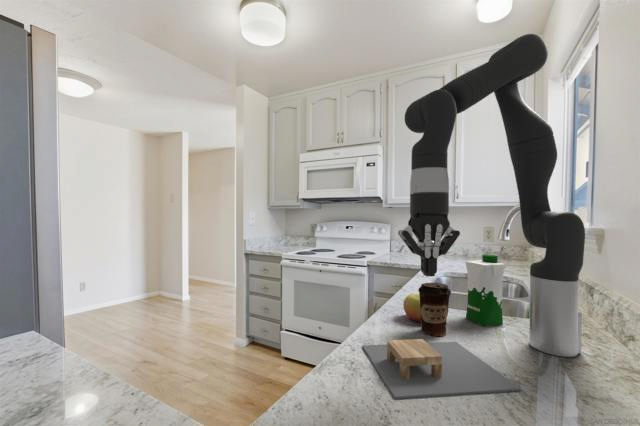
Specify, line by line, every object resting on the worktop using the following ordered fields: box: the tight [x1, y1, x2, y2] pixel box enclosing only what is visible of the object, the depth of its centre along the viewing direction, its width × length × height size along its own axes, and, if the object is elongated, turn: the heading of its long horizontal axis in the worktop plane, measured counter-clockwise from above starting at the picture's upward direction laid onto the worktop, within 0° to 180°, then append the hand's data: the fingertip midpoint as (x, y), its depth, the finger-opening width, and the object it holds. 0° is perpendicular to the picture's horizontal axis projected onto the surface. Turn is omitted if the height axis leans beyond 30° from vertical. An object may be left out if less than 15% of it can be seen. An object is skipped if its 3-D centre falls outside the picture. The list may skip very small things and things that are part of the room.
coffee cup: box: [418, 282, 452, 337], centre depth 80 cm, size 9×8×13 cm
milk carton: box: [464, 254, 506, 327], centre depth 90 cm, size 9×9×20 cm
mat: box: [362, 341, 522, 400], centre depth 62 cm, size 24×20×1 cm
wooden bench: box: [387, 338, 442, 379], centre depth 60 cm, size 4×8×8 cm
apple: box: [403, 293, 421, 323], centre depth 90 cm, size 10×10×8 cm
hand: (428, 275), depth 61 cm, fingers closed
